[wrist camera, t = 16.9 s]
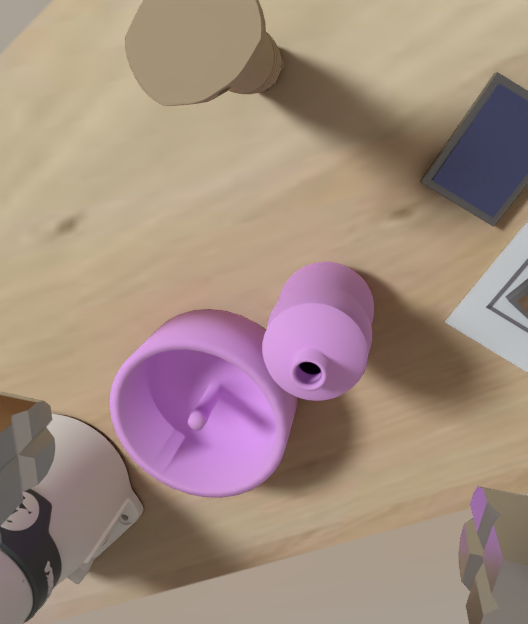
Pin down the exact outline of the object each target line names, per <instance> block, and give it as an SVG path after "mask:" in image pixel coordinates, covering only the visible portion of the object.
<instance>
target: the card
mask: <svg viewBox="0 0 528 624" xmlns="http://www.w3.org/2000/svg"><path fill="white" fill-rule="evenodd" d="M526 279H528V221H527V222H526V223H525V225H524V226H523V227H522V228H521V230H520V231H519V232H518V233H517V234H516V236H515V237H514V238H513V239H512V241H511V242H510V243H509V244H508V245H507V247H506V248H505V249H504V250H503V251H502V253H501V254H500V255H499V256H498V258H497V259H496V260H495V261H494V262H493V264H492V265H491V266H490V267H489V268H488V270H487V271H486V272H485V273H484V275H483V276H482V277H481V278H480V279H479V281H478V282H477V283H476V284H475V285H474V287H473V288H472V289H471V290H470V292H469V293H468V294H467V295H466V296H465V298H464V299H463V300H462V301H461V302H460V304H459V305H458V306H457V307H456V309H455V310H454V311H453V312H452V313H451V315H450V316H449V317H448V318H447V319H446V321H445V323H447V324H448V325H450V326H452V327H453V328H455V329H457V330H458V331H460V332H462V333H463V334H465V335H467V336H468V337H470V338H471V339H473V340H475V341H476V342H478V343H480V344H481V345H483V346H485V347H486V348H488V349H490V350H491V351H493V352H495V353H496V354H498V355H499V356H501V357H503V358H504V359H506V360H508V361H509V362H511V363H513V364H514V365H516V366H518V367H519V368H521V369H523V370H524V371H526V372H527V373H528V319H527V318H526V317H525V316H524V315H523V314H522V313H521V312H519V311H518V310H517V309H516V308H515V307H514V306H513V305H512V304H511V303H510V302H509V301H508V300H507V298H506V297H505V296H507V295H508V294H509V293H510V292H512V291H513V290H514V289H515V288H516V287H518V286H519V285H520V284H521V283H523V282H524V281H525V280H526Z"/></svg>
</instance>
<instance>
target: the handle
mask: <svg viewBox="0 0 528 624" xmlns="http://www.w3.org/2000/svg"><path fill="white" fill-rule="evenodd" d="M125 48H126V55H127V59H128V62H129V65H130V68H131V70H132V72H133V74H134V77H135V79H136V80H137V82H138V83H139V85H140V86H141V88H142V89H143V90H144V91H145V92H146V94H147V95H148V96H149V97H150V98H152V99H153V100H154V101H156V102H157V103H159V104H161V105H163V106H175V105H189V104H198V103H203V102H209V101H211V100H213V99H215V98H216V97H218V96H220V95H221V94H223V93H225V92H227V91H228V90H229V91H231V92H234V93H239V94H254V93H259V92H262V91H264V90H269V89H271V88H273V87H274V86H275V85H276V80H277V78H278V76H279V74H280V71H281V70H282V69H283V68H284V61H283V59H281V55H280V51H279V49H278V46H277V45H276V43H275V41H274V40H273V39H272V37H271V36H270V35H269V34H268V33H267V32H266V27H265V19H264V15H263V11H262V8H261V6H260V3H259V1H258V0H144V1H143V2H142V4H141V6H140V7H139V9H138V11H137V13H136V15H135V17H134V19H133V21H132V23H131V25H130V28H129V30H128V32H127V34H126V37H125Z"/></svg>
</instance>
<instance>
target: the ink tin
mask: <svg viewBox="0 0 528 624" xmlns="http://www.w3.org/2000/svg"><path fill="white" fill-rule="evenodd" d="M421 182H422V183H423V184H425V185H426V186H428V187H430V188H431V189H433V190H434V191H436V192H438V193H439V194H441V195H443V196H444V197H446V198H448V199H449V200H451V201H452V202H454V203H456V204H457V205H459V206H461V207H462V208H464V209H466V210H467V211H469V212H470V213H472V214H474V215H475V216H477V217H479V218H480V219H482V220H484V221H485V222H487V223H488V224H490V225H492V226H494V225H495V224H496V223H497V221H498V220H499V219H500V218H501V216H502V215H503V214H504V213H505V211H506V210H507V209H508V207H509V206H510V205H511V204H512V202H513V201H514V200H515V199H516V197H517V196H518V195H519V194H520V192H521V191H522V190H523V189H524V187H525V186H526V185H527V183H528V91H527V90H525V89H524V88H522V87H520V86H519V85H517V84H516V83H514V82H512V81H511V80H509V79H508V78H506V77H504V76H503V75H501V74H499V73H498V72H497V73H494V75H493V76H492V77H491V79H490V80H489V82H488V83H487V85H486V86H485V88H484V89H483V91H482V92H481V93H480V95H479V96H478V98H477V99H476V101H475V102H474V104H473V105H472V107H471V108H470V109H469V111H468V112H467V114H466V115H465V117H464V118H463V120H462V121H461V123H460V124H459V125H458V127H457V128H456V130H455V131H454V133H453V134H452V136H451V137H450V139H449V140H448V142H447V143H446V144H445V146H444V147H443V149H442V150H441V152H440V153H439V155H438V156H437V158H436V159H435V160H434V162H433V163H432V165H431V166H430V168H429V169H428V171H427V172H426V174H425V175H424V176H423V178H422V179H421Z"/></svg>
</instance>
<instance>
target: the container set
mask: <svg viewBox="0 0 528 624" xmlns="http://www.w3.org/2000/svg"><path fill="white" fill-rule="evenodd" d="M373 318H374V301H373V296H372V293H371V290H370V289H369V287H368V285H367V283H366V282H365V281H364V280H363V278H362V277H361V276H360V275H359V274H357V273H356V272H355V271H354V270H352V269H350V268H348V267H346V266H344V265H341V264H338V263H333V262H318V263H313V264H310V265H307V266H305V267H303V268H301V269H299V270H298V271H296V272H295V273H294V274H293V275H292V276H291V277H290V278H289V279H288V281H287V282H286V283H285V285H284V287H283V289H282V291H281V293H280V297H279V300H278V303H277V304H276V305H275V307H274V308H273V310H272V312H271V314H270V317H269V321H268V325H267V330H265V329H264V328H262V327H261V326H260V325H259V324H257V323H255V322H253V321H251V320H249V319H247V318H245V317H243V316H241V315H238V314H234V313H231V312H228V311H222V310H213V309H204V310H193V311H190V312H186V313H183V314H179V315H177V316H176V317H174V318H172V319H170V320H168V321H167V322H165V323H164V324H163V325H162V326H161V327H160V328H159V329H158V330H156V331H155V332H154V333H153V334H152V335H151V336H150V337H149V338H148V339H147V340H146V341H145V342H144V343H143V344H142V345H141V346H140V347H139V348H138V349H137V350H136V351H135V352H134V353H133V354H132V355H131V356H130V357H129V358H128V359H127V360H126V361H125V362H124V364H123V365H122V367H121V368H120V369H119V371H118V372H117V374H116V376H115V379H114V382H113V385H112V387H111V395H110V411H111V419H112V422H113V425H114V428H115V431H116V434H117V436H118V437H119V439H120V441H121V443H122V445H123V447H124V448H125V450H126V451H127V452H128V453H129V455H130V456H131V457H132V459H133V460H134V461H135V462H136V463H137V464H138V465H139V466H140V467H141V468H142V469H143V470H144V471H146V472H147V473H148V474H150V475H151V476H153V477H154V478H155V479H157V480H158V481H160V482H162V483H164V484H166V485H168V486H169V487H171V488H173V489H176V490H179V491H182V492H185V493H188V494H191V495H197V496H202V497H228V496H235V495H239V494H242V493H245V492H247V491H250V490H252V489H254V488H256V487H257V486H259V485H261V484H262V483H264V482H265V481H266V480H267V479H268V478H269V477H270V476H271V475H272V474H273V473H274V472H275V470H276V469H277V467H278V465H279V464H280V462H281V460H282V458H283V455H284V452H285V448H286V445H287V441H288V438H289V434H290V430H291V427H292V423H293V419H294V416H295V412H296V408H297V405H298V397H299V398H302V399H306V400H313V401H322V400H328V399H333V398H335V397H338V396H340V395H342V394H344V393H345V392H347V391H348V390H350V389H351V388H352V387H353V386H354V385H355V384H356V383H357V382H358V381H359V380H360V378H361V377H362V375H363V374H364V371H365V368H366V366H367V360H368V354H369V351H370V348H371V344H372V337H373V336H372V326H371V325H372V322H373Z"/></svg>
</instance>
